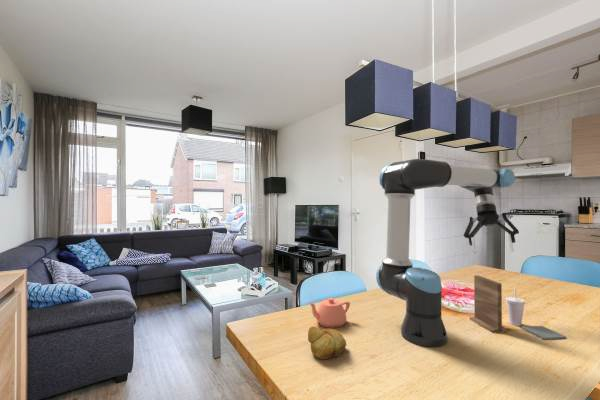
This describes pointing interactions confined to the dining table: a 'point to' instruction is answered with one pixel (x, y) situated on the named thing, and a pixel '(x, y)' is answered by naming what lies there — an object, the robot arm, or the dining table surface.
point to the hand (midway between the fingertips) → (492, 251)
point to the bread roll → (326, 342)
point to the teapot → (330, 312)
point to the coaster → (543, 332)
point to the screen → (488, 304)
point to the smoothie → (515, 309)
